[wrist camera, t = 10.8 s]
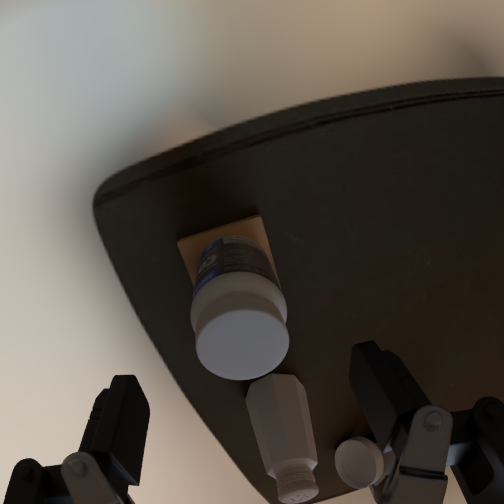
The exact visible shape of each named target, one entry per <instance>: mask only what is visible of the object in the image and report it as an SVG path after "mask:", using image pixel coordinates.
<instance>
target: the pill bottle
mask: <svg viewBox="0 0 504 504" xmlns="http://www.w3.org/2000/svg"><path fill="white" fill-rule="evenodd" d="M190 316H191V324H192V327H193V330H194V332H195V336H196V352H197V355H198V358H199V360H200V361H201V363H202V364H203V365H204V366H205V367H206V368H207V369H208V370H209V371H210V372H212V373H214V374H216V375H218V376H220V377H223V378H227V379H232V380H247V379H253V378H257V377H260V376H262V375H265V374H266V373H268V372H270V371H272V370H273V369H274V368H276V367H277V366H278V365H279V364H280V363H281V361H282V360H283V359H284V357H285V355H286V353H287V350H288V346H289V335H288V331H287V328H286V325H285V323H286V319H287V307H286V302H285V298H284V296H283V293H282V291H281V288H280V286H279V283H278V281H277V278H276V276H275V274H274V271H273V268H272V266H271V263H270V260H269V258H268V256H267V254H266V252H265V251H264V249H263V248H262V247H261V246H260V245H259V244H258V243H257V242H256V241H254V240H252V239H250V238H248V237H245V236H241V235H227V236H223V237H220V238H217V239H215V240H214V241H212V242H211V243H209V244H208V245H207V246H206V247H205V249H204V250H203V252H202V253H201V255H200V257H199V260H198V264H197V270H196V276H195V282H194V290H193V295H192V303H191V311H190Z"/></svg>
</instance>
